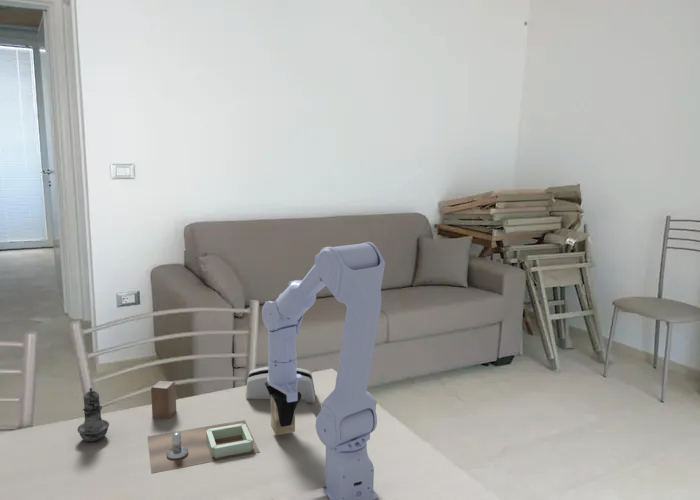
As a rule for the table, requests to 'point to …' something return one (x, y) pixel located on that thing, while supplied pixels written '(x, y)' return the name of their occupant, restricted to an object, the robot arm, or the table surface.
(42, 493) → the table surface
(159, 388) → the wooden block
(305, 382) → the white rounded block
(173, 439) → the metal post
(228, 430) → the socket collar
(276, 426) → the maple peg
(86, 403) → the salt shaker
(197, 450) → the walnut board
